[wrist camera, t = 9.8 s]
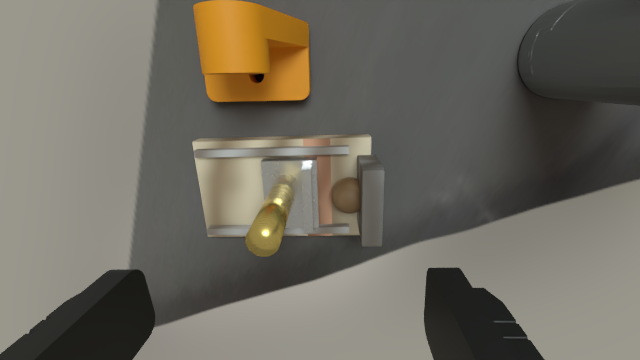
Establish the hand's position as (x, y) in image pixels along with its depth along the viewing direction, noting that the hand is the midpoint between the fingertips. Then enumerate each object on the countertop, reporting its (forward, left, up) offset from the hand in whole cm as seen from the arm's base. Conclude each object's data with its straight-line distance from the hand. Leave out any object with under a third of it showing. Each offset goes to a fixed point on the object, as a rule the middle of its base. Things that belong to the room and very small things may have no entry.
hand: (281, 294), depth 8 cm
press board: (+4, +6, -28) cm, 29 cm away
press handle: (+3, +6, -26) cm, 27 cm away
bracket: (+6, -7, -28) cm, 30 cm away
